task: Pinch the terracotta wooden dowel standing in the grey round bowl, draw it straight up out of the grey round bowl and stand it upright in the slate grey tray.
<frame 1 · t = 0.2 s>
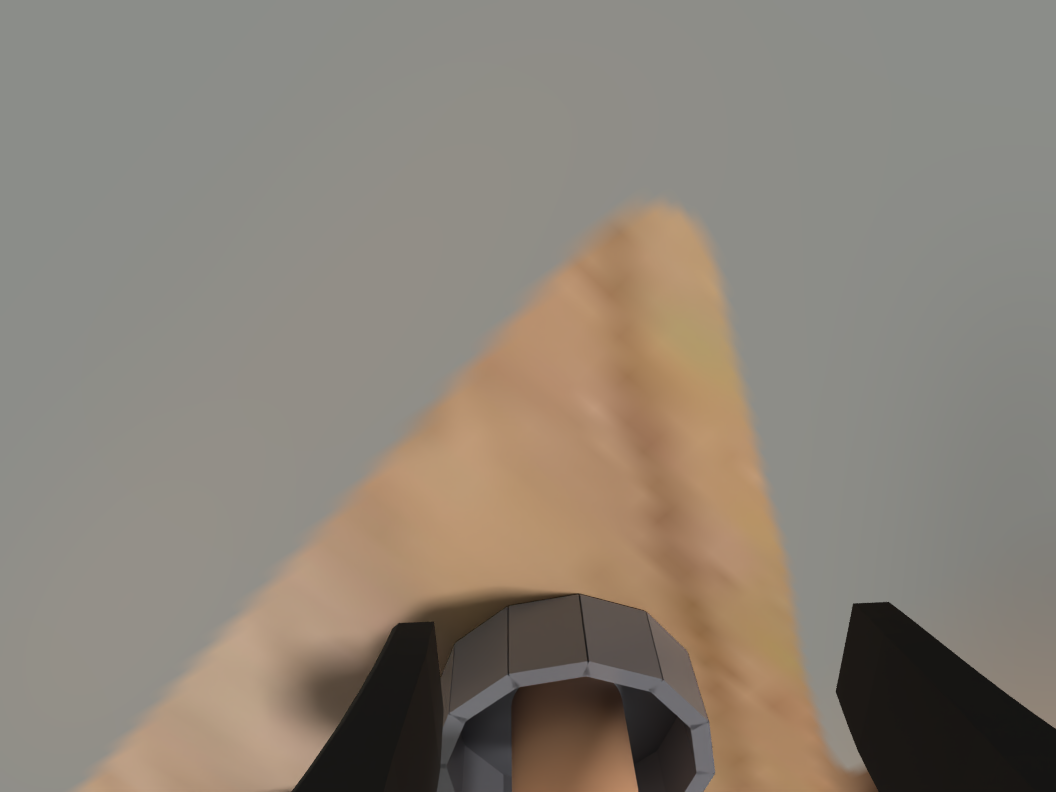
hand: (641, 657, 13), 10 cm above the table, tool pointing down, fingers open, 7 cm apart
dowel: (566, 707, 26), resting on grey round bowl
grey round bowl: (565, 696, 27), on the table
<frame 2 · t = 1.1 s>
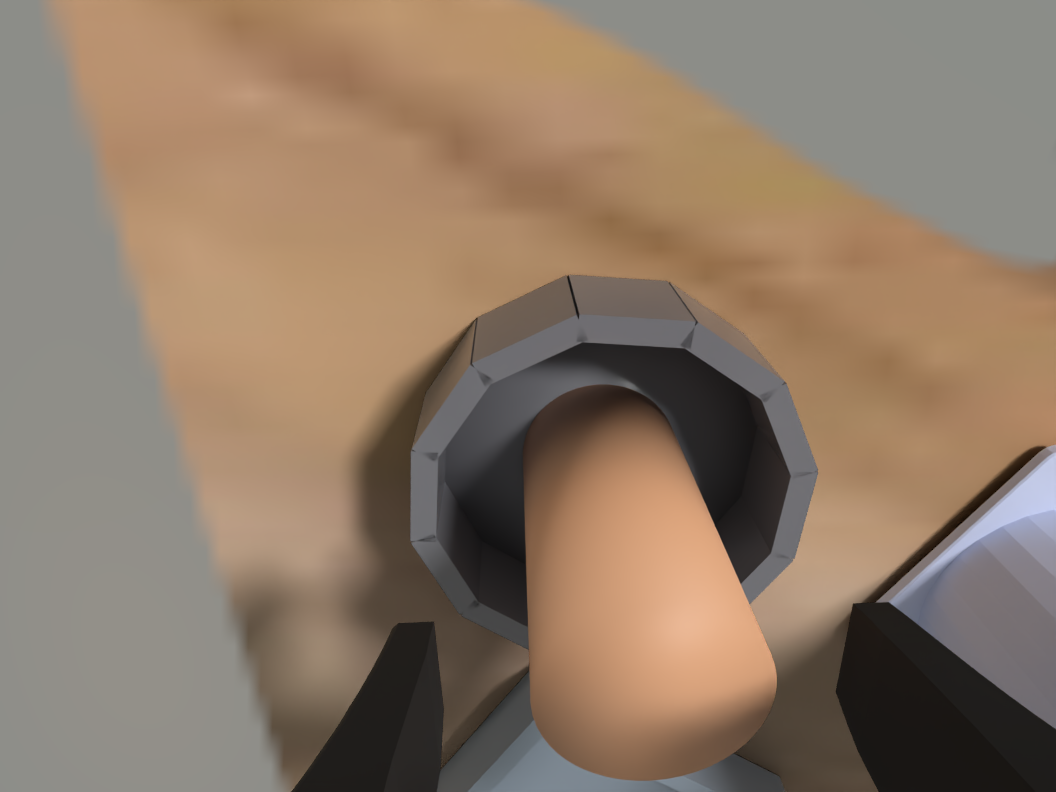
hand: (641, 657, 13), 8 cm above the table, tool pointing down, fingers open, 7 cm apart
tray: (594, 790, 25), on the table
dowel: (599, 454, 19), resting on grey round bowl
grey round bowl: (597, 445, 20), on the table
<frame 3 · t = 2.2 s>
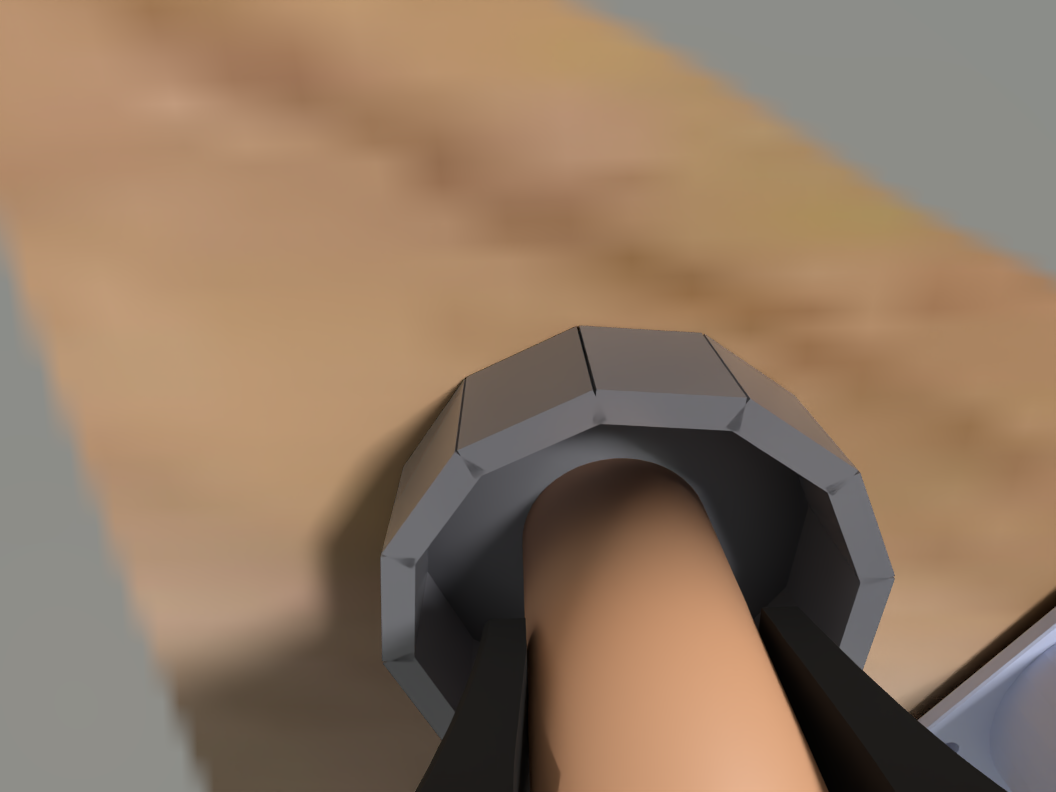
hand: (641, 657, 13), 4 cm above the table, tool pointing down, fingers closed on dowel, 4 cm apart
dowel: (615, 539, 16), resting on grey round bowl, touching gripper
grey round bowl: (612, 525, 16), on the table
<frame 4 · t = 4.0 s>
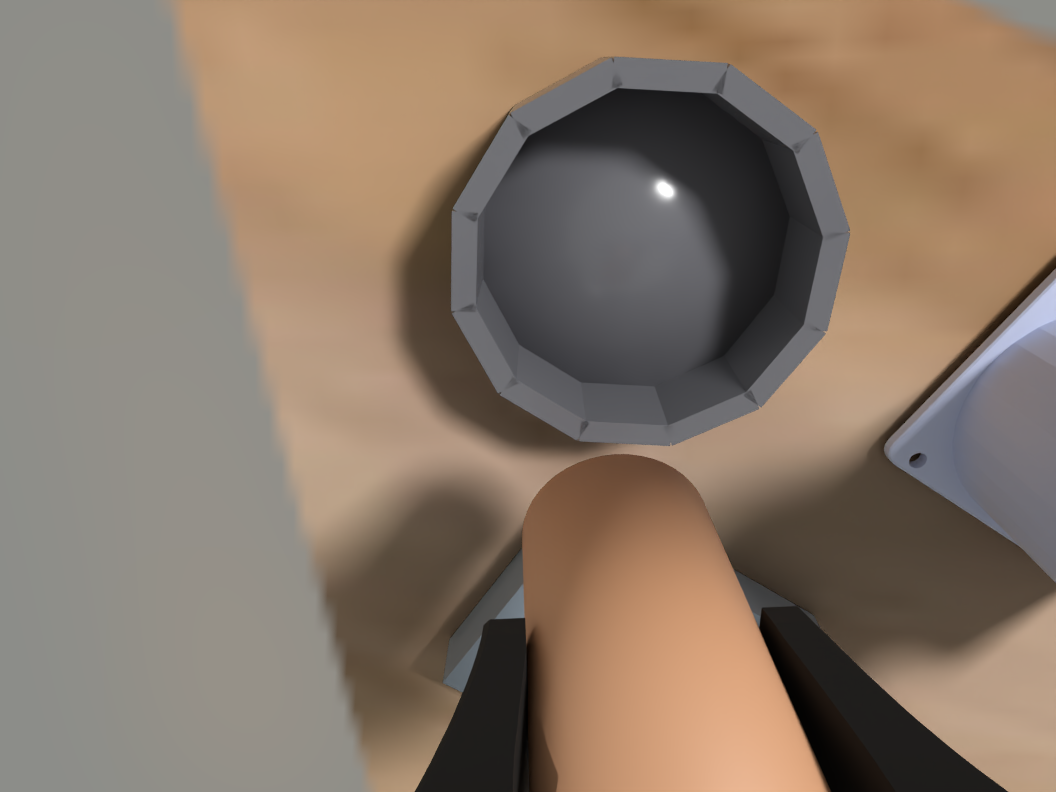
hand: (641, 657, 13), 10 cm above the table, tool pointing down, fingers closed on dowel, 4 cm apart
tray: (629, 627, 26), on the table
dowel: (615, 535, 16), point 7 cm above the table, touching gripper
grey round bowl: (631, 244, 20), on the table
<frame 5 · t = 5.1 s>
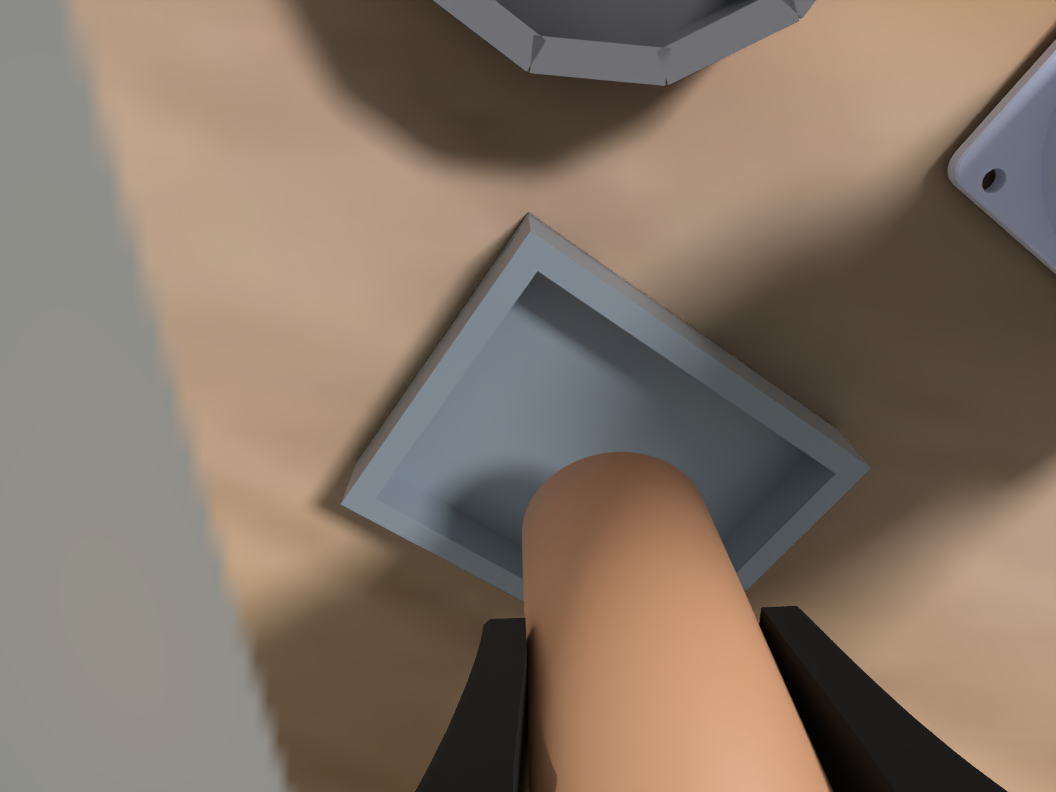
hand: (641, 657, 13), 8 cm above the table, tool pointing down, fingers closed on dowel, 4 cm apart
tray: (596, 446, 19), on the table
dowel: (614, 533, 16), point 4 cm above the table, touching gripper
when the fingers open (5 cm above the table, at t = 5.9 s): dowel stays where it is, resting on tray.
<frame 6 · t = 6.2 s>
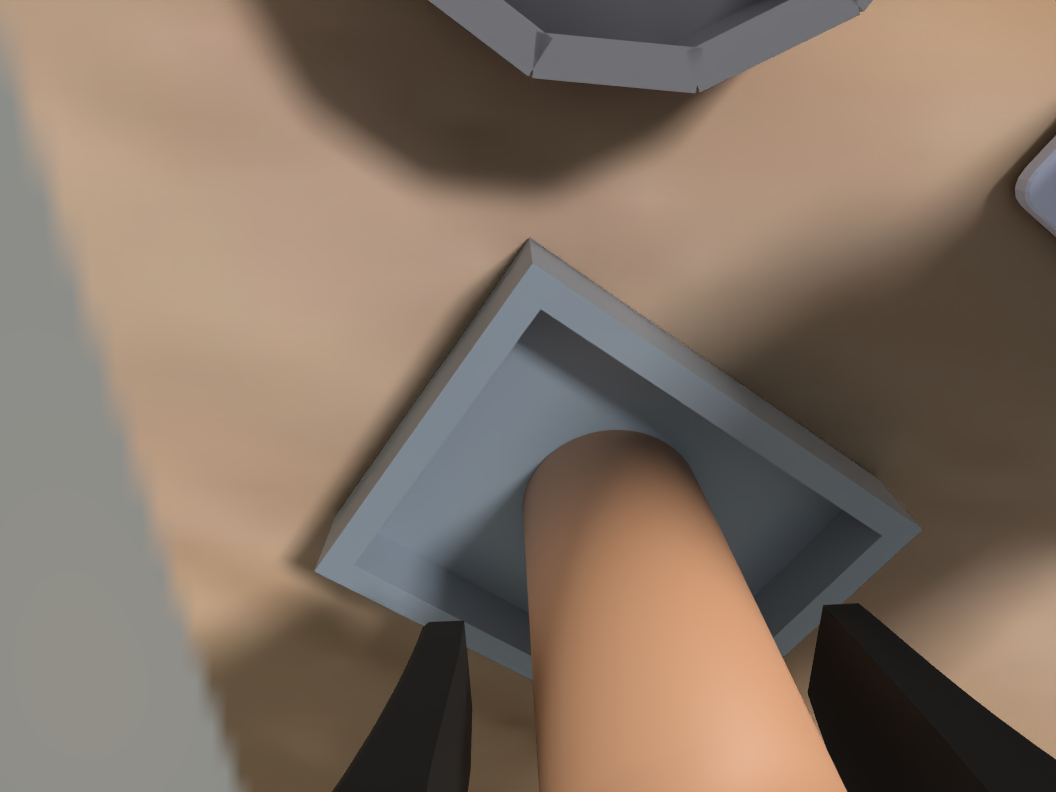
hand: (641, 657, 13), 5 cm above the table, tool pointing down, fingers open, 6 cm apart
tray: (606, 498, 17), on the table
dowel: (611, 508, 17), point 1 cm above the table, touching tray
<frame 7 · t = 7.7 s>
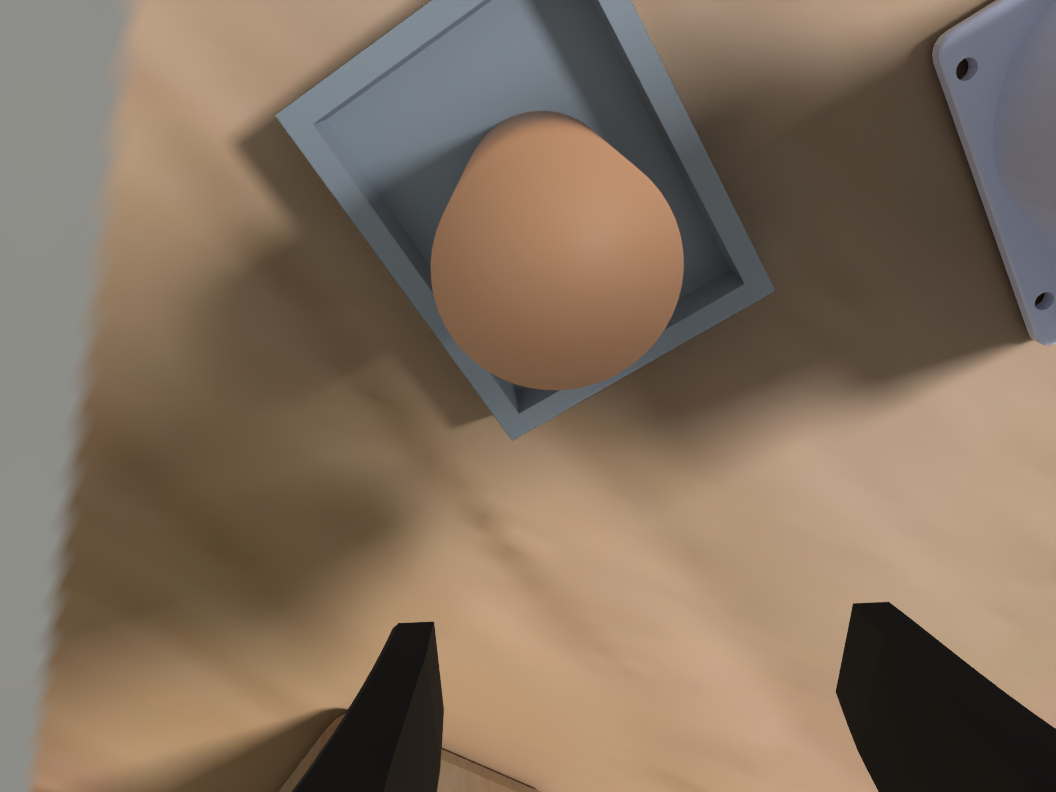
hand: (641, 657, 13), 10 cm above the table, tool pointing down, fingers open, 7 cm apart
tray: (537, 194, 19), on the table
dowel: (540, 193, 19), point 1 cm above the table, touching tray
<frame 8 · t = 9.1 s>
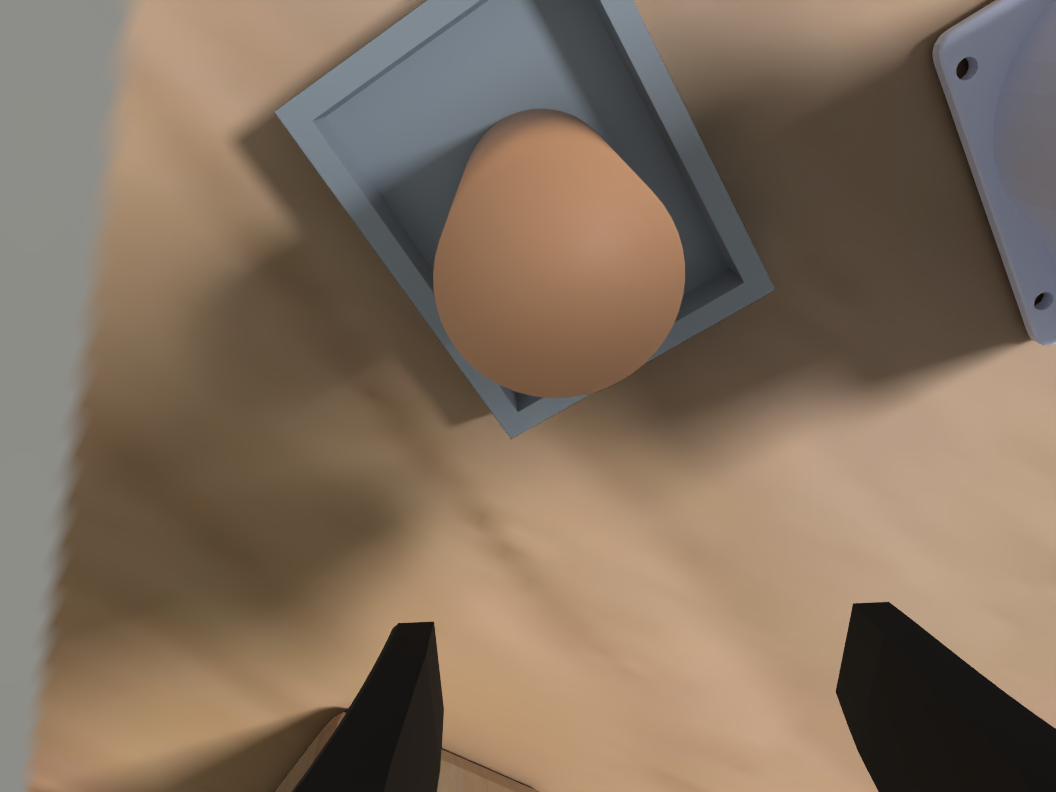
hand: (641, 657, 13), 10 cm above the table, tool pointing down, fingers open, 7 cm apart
tray: (536, 192, 19), on the table
dowel: (540, 191, 19), point 1 cm above the table, touching tray
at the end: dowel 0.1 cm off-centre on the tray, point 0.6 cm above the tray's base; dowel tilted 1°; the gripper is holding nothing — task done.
